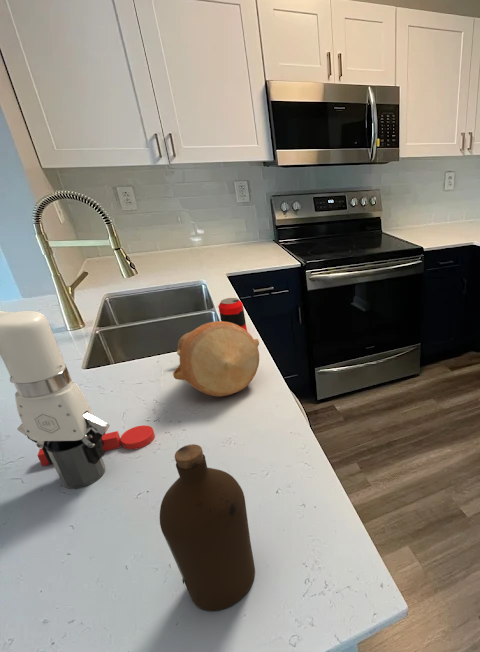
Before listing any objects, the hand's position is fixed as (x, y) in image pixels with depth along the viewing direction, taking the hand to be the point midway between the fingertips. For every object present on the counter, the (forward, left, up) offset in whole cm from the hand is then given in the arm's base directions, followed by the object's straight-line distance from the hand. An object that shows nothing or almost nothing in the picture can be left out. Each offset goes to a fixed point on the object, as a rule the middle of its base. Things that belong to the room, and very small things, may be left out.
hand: (77, 458), depth 81 cm
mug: (+1, +2, -4) cm, 5 cm away
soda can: (+32, +59, -4) cm, 67 cm away
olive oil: (+25, -33, -4) cm, 42 cm away
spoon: (+1, +8, -4) cm, 9 cm away
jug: (+26, +30, -4) cm, 40 cm away
